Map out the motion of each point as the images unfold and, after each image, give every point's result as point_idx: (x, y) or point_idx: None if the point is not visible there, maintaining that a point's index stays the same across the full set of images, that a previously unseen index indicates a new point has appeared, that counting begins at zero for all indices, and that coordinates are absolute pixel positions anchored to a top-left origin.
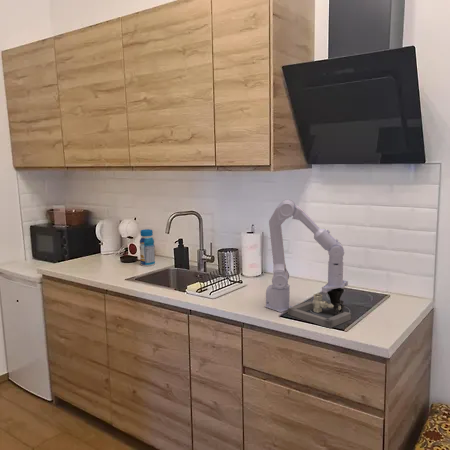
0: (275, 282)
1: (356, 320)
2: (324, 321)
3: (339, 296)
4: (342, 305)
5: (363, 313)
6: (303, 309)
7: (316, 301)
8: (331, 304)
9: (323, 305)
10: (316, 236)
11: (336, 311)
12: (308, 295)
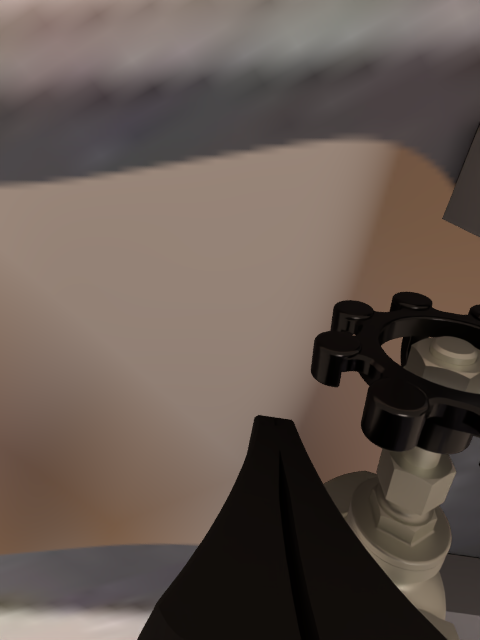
0: None
1: (476, 22)
2: None
3: (271, 533)
4: (389, 359)
5: (108, 88)
6: (459, 579)
7: (445, 615)
8: (439, 481)
9: (447, 526)
10: None
11: None
12: (75, 628)
